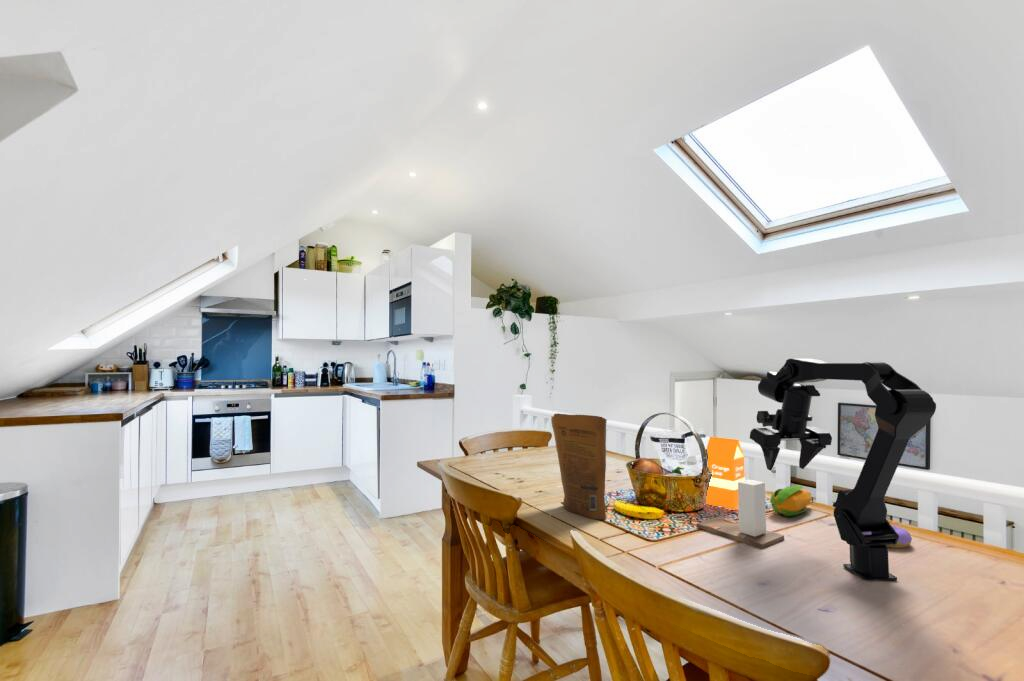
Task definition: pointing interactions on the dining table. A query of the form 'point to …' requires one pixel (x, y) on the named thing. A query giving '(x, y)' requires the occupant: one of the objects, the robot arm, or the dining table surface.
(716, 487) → the orange juice
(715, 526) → the brown flat wooden board
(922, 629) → the dining table surface
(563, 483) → the pancake mix bag
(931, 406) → the robot arm
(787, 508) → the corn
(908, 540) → the donut
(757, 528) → the white tall block
